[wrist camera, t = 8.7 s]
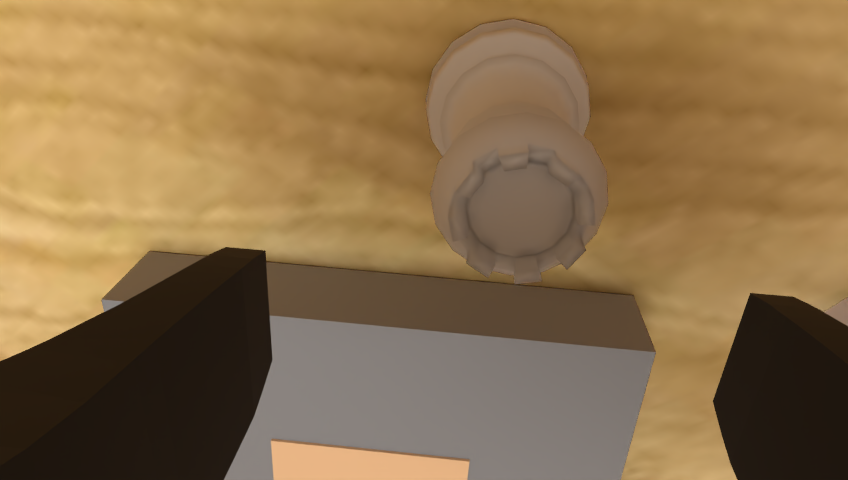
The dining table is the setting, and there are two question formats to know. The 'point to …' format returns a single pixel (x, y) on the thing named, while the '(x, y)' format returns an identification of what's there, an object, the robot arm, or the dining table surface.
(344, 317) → the grey flat square slab
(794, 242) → the dining table surface
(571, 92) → the rook chess piece
